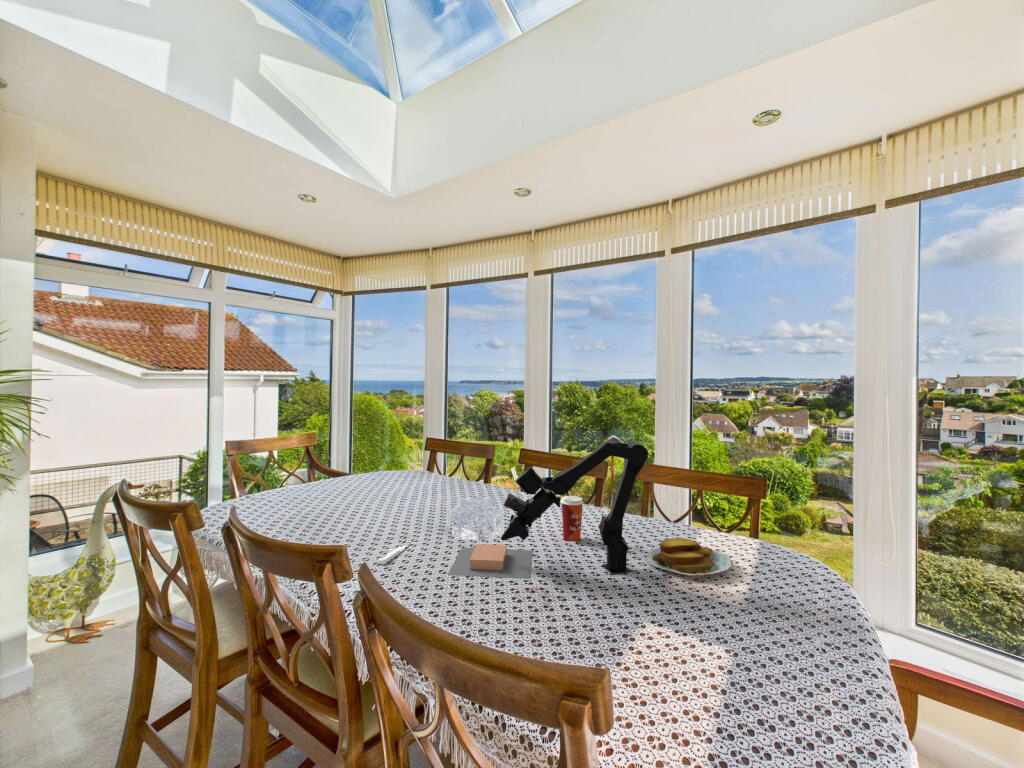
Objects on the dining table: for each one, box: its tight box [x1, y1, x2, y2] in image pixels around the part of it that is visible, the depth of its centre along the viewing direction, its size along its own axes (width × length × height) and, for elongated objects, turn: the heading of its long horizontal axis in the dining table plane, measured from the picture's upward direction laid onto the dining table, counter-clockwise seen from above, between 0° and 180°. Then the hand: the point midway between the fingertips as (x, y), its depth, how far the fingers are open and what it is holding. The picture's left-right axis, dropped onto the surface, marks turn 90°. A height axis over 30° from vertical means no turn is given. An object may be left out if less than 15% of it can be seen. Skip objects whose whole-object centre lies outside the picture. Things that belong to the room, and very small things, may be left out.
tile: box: [470, 543, 508, 571], centre depth 142 cm, size 3×13×10 cm
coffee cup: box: [560, 495, 585, 543], centre depth 165 cm, size 8×8×15 cm
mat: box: [447, 547, 534, 580], centre depth 141 cm, size 24×22×1 cm
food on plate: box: [645, 537, 734, 582], centre depth 143 cm, size 25×25×7 cm
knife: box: [377, 545, 409, 566], centre depth 155 cm, size 31×6×2 cm, turn 177°
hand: (501, 539), depth 141 cm, fingers closed
